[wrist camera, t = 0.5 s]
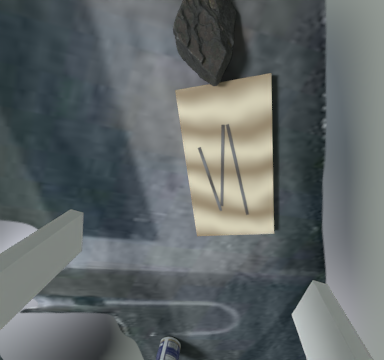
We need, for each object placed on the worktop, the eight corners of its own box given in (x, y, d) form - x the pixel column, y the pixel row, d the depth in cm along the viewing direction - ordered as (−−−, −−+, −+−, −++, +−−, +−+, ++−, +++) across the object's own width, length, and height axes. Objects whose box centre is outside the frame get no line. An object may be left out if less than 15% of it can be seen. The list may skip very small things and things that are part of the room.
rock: (203, -20, 27) (157, 38, 28) (215, -57, 22) (157, 16, 22) (251, 43, 30) (208, 93, 31) (272, 24, 25) (219, 85, 26)
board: (177, 91, 31) (175, 90, 30) (268, 75, 29) (271, 73, 27) (198, 231, 39) (197, 236, 37) (271, 229, 36) (274, 233, 35)
